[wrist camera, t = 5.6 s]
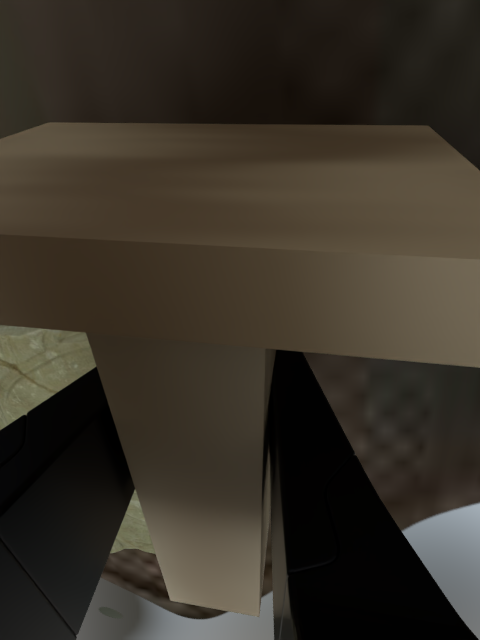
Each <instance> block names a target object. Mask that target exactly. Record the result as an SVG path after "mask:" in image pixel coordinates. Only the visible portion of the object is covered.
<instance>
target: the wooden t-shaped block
mask: <svg viewBox="0 0 480 640" xmlns="http://www.w3.org/2000/svg"><path fill="white" fill-rule="evenodd" d="M0 325H6V326H17V327H28V328H39V329H51V330H62V331H73V332H85V333H86V335H87V338H88V341H89V344H90V347H91V351H92V354H93V357H94V360H95V363H96V366H97V369H98V373H99V376H100V379H101V382H102V385H103V388H104V392H105V395H106V398H107V401H108V404H109V407H110V411H111V414H112V417H113V420H114V423H115V426H116V429H117V433H118V436H119V439H120V442H121V445H122V448H123V452H124V455H125V458H126V461H127V464H128V467H129V470H130V474H131V477H132V480H133V483H134V486H135V489H136V493H137V496H138V499H139V502H140V505H141V508H142V512H143V515H144V518H145V521H146V524H147V527H148V530H149V534H150V537H151V540H152V543H153V546H154V549H155V553H156V556H157V559H158V562H159V565H160V568H161V571H162V575H163V578H164V581H165V584H166V587H167V590H168V594H169V597H170V600H171V601H176V602H181V603H187V604H192V605H197V606H203V607H208V608H214V609H219V610H224V611H230V612H235V613H241V614H246V615H251V616H257V617H259V614H260V604H261V594H262V584H263V575H264V565H265V555H266V545H267V536H268V526H269V516H270V506H271V494H270V455H269V438H270V411H271V385H272V374H273V368H274V361H275V355H276V350H288V351H299V352H310V353H321V354H333V355H344V356H355V357H367V358H378V359H389V360H400V361H412V362H423V363H434V364H446V365H457V366H468V367H479V368H480V170H478V169H477V168H476V167H475V166H474V165H473V164H472V163H470V162H469V161H468V160H467V159H466V158H465V157H464V156H462V155H461V154H460V153H459V152H458V151H457V150H456V149H454V148H453V147H452V146H451V145H450V144H449V143H447V142H446V141H445V140H444V139H443V138H442V137H441V136H439V135H438V134H437V133H436V132H435V131H434V130H433V129H431V128H430V127H429V126H415V125H293V124H171V123H50V122H49V123H46V124H43V125H40V126H37V127H34V128H31V129H28V130H25V131H22V132H19V133H16V134H13V135H10V136H7V137H5V138H2V139H0Z"/></svg>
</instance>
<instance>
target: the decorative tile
mask: <svg viewBox="0 0 480 640" xmlns="http://www.w3.org/2000/svg"><path fill="white" fill-rule="evenodd" d="M95 367H96V363H95V360H94V357H93V354H92V351H91V347H90V344H89V341H88V338H87V335H86V333H85V332H73V331H62V330H51V329H39V328H28V327H17V326H6V325H0V430H1V429H3V428H4V427H6V426H7V425H9V424H10V423H12V422H13V421H15V420H16V419H18V418H19V417H21V416H22V415H27V412H28V411H30V410H32V409H33V408H35V407H36V406H38V405H39V404H41V403H42V402H44V401H45V400H47V399H48V398H50V397H51V396H53V395H54V394H56V393H57V392H59V391H60V390H62V389H63V388H65V387H66V386H68V385H69V384H71V383H72V382H74V381H75V380H77V379H78V378H80V377H81V376H83V375H84V374H86V373H87V372H89V371H90V370H92V369H93V368H95ZM124 548H127V549H131V548H138V549H140V550H143V551H145V552H150V553H154V554H156V553H155V549H154V546H153V543H152V540H151V537H150V534H149V530H148V527H147V524H146V521H145V518H144V515H143V512H142V508H141V505H140V502H139V499H138V496H137V493H136V489H135V491H134V493H133V496H132V499H131V501H130V504H129V506H128V509H127V511H126V514H125V516H124V519H123V521H122V524H121V526H120V529H119V531H118V534H117V536H116V539H115V542H114V544H113V547H112V549H111V552H110V553H115V552H117V551H120V550H122V549H124Z"/></svg>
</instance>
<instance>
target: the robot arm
mask: <svg viewBox="0 0 480 640" xmlns="http://www.w3.org/2000/svg"><path fill="white" fill-rule="evenodd" d="M269 455H270V494H271V534H272V574H273V614H274V640H478V638H477V637H476V636H475V635H474V634H473V632H472V631H471V630H470V629H469V628H468V627H467V625H466V624H465V623H464V621H463V620H462V619H461V618H460V616H459V615H458V614H457V612H456V611H455V609H454V608H453V606H452V605H451V604H450V602H449V601H448V599H447V598H446V597H445V595H444V593H443V592H442V590H441V589H440V588H439V586H438V585H437V583H436V582H435V580H434V579H433V577H432V576H431V574H430V573H429V571H428V570H427V568H426V567H425V566H424V564H423V563H422V561H421V560H420V558H419V557H418V555H417V554H416V552H415V551H414V549H413V548H412V546H411V545H410V544H409V542H408V540H407V539H406V538H405V536H404V535H403V533H402V532H401V530H400V529H399V527H398V526H397V524H396V523H395V521H394V520H393V518H392V516H391V515H390V513H389V512H388V510H387V509H386V507H385V506H384V504H383V502H382V501H381V499H380V498H379V496H378V494H377V492H376V491H375V489H374V487H373V485H372V484H371V482H370V480H369V478H368V476H367V475H366V473H365V471H364V469H363V467H362V465H361V463H360V461H359V459H358V458H357V456H356V455H355V452H354V450H353V448H352V446H351V445H350V443H349V441H348V439H347V437H346V435H345V433H344V431H343V429H342V427H341V425H340V423H339V422H338V420H337V418H336V416H335V414H334V412H333V410H332V408H331V406H330V404H329V402H328V400H327V398H326V397H325V395H324V393H323V391H322V389H321V387H320V385H319V383H318V381H317V379H316V377H315V375H314V374H313V372H312V370H311V368H310V366H309V364H308V362H307V360H306V358H305V356H304V354H303V352H299V351H288V350H276V355H275V361H274V368H273V374H272V385H271V411H270V438H269ZM134 491H135V486H134V483H133V480H132V477H131V474H130V470H129V467H128V464H127V461H126V458H125V455H124V452H123V448H122V445H121V442H120V439H119V436H118V433H117V429H116V426H115V423H114V420H113V417H112V414H111V411H110V407H109V404H108V401H107V398H106V395H105V392H104V388H103V385H102V382H101V379H100V376H99V373H98V369H97V366H96V367H95V368H93V369H92V370H90V371H89V372H87V373H86V374H84V375H83V376H81V377H80V378H78V379H77V380H75V381H74V382H72V383H71V384H69V385H68V386H66V387H65V388H63V389H62V390H60V391H59V392H57V393H56V394H54V395H53V396H51V397H50V398H48V399H47V400H45V401H44V402H42V403H41V404H39V405H38V406H36V407H35V408H33V409H32V410H30V411H28V412H27V415H22V416H21V417H19V418H18V419H16V420H15V421H13V422H12V423H10V424H9V425H7V426H6V427H4V428H3V429H1V430H0V640H76V638H77V637H76V635H77V634H78V633H79V630H80V628H81V625H82V622H83V620H84V617H85V615H86V612H87V610H88V607H89V605H90V602H91V600H92V597H93V595H94V592H95V590H96V587H97V585H98V582H99V580H100V577H101V574H102V572H103V569H104V567H105V564H106V562H107V559H108V557H109V554H110V552H111V549H112V547H113V544H114V542H115V539H116V536H117V534H118V531H119V529H120V526H121V524H122V521H123V519H124V516H125V514H126V511H127V509H128V506H129V504H130V501H131V499H132V496H133V493H134Z"/></svg>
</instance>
